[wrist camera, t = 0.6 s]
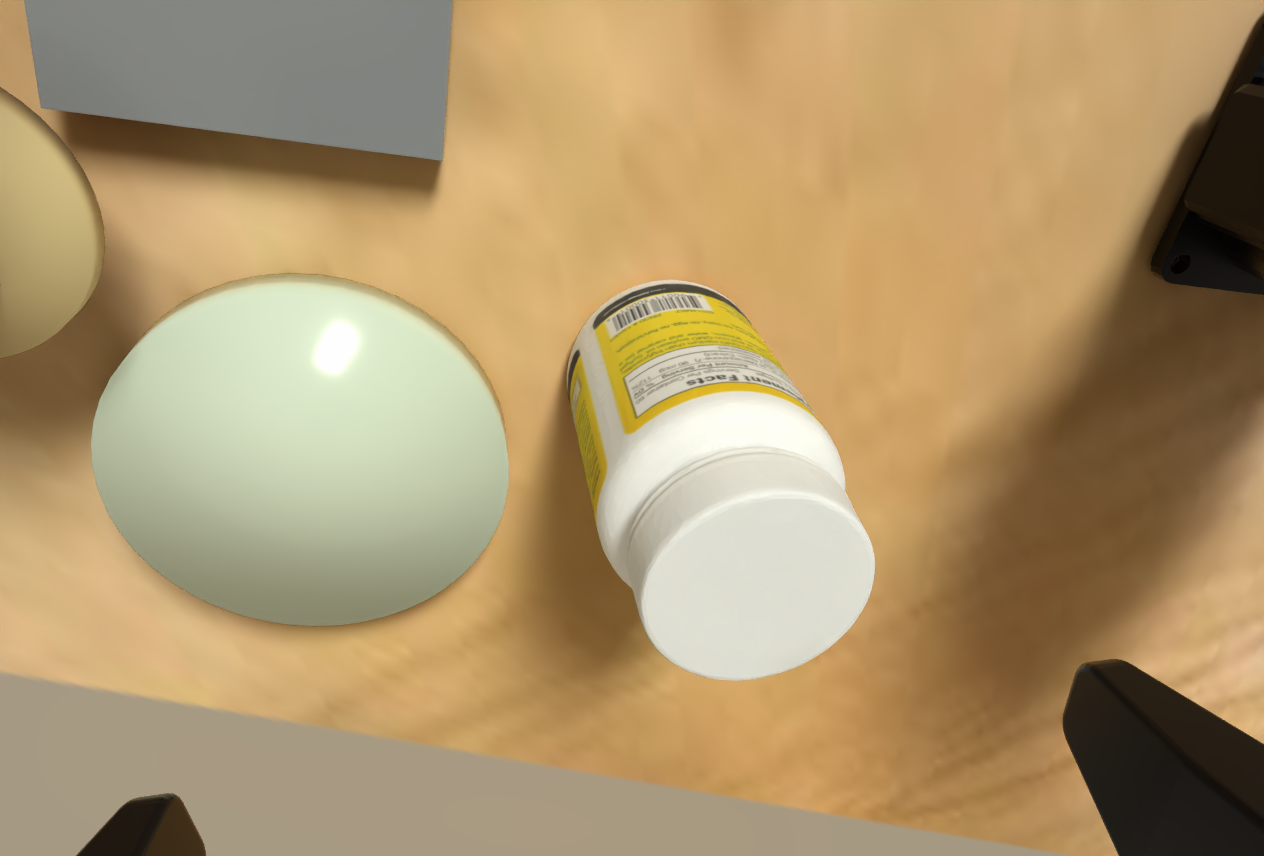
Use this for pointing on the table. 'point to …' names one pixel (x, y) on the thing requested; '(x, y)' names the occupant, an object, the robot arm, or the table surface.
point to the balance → (42, 231)
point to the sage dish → (302, 450)
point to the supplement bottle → (714, 485)
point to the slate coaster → (254, 67)
